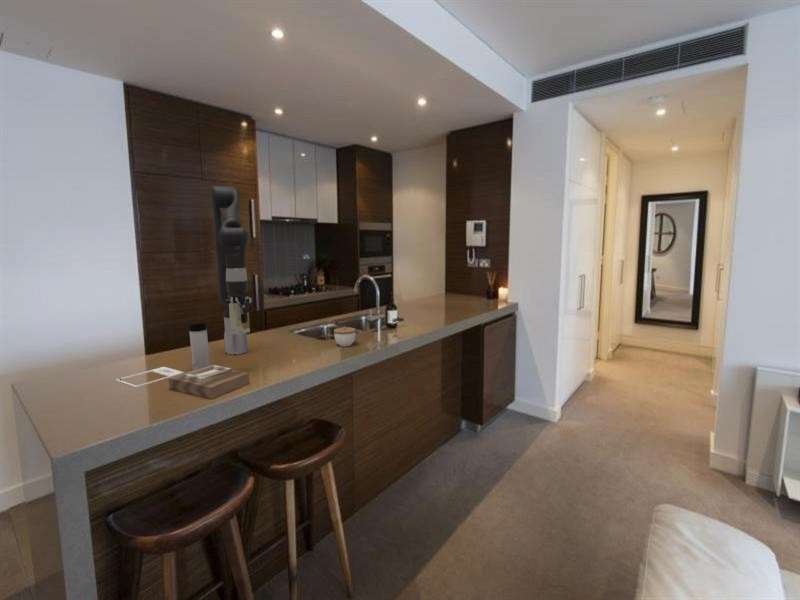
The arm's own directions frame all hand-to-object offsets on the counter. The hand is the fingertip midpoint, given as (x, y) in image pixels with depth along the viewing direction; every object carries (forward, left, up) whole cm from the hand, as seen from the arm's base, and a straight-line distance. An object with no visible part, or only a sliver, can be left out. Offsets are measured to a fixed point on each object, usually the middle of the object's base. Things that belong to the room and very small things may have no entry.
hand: (239, 322), depth 160 cm
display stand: (+3, -18, -20) cm, 27 cm away
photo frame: (-27, -21, -20) cm, 40 cm away
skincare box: (0, 0, -5) cm, 5 cm away
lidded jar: (+15, +50, -20) cm, 56 cm away
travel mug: (-16, -7, -20) cm, 27 cm away
